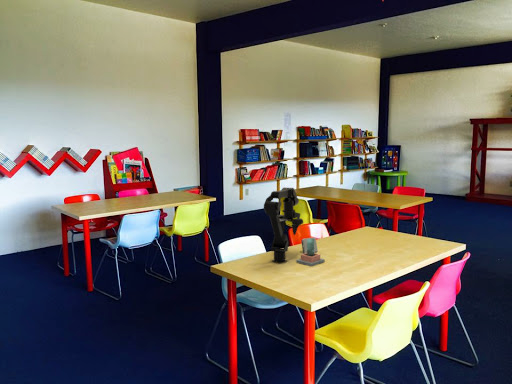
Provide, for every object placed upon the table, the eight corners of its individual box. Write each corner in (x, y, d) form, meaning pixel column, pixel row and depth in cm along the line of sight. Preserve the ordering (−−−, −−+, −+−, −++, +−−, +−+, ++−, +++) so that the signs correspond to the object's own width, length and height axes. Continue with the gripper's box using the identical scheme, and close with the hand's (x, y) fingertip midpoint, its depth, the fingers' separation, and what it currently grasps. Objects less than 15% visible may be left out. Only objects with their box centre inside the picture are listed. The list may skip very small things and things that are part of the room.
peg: (308, 260, 251) (308, 240, 249) (305, 258, 255) (306, 238, 253) (314, 260, 252) (315, 239, 250) (312, 258, 256) (313, 238, 254)
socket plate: (311, 266, 245) (311, 258, 245) (296, 262, 253) (296, 254, 253) (324, 261, 254) (324, 254, 253) (309, 258, 261) (309, 250, 261)
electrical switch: (305, 254, 270) (304, 239, 270) (300, 253, 275) (299, 238, 274) (317, 252, 274) (317, 237, 274) (313, 251, 279) (312, 236, 278)
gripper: (309, 208, 263) (309, 233, 266) (286, 204, 277) (287, 228, 280) (296, 211, 256) (296, 237, 259) (274, 207, 270) (274, 231, 272)
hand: (288, 233), depth 268 cm, fingers open, 9 cm apart
